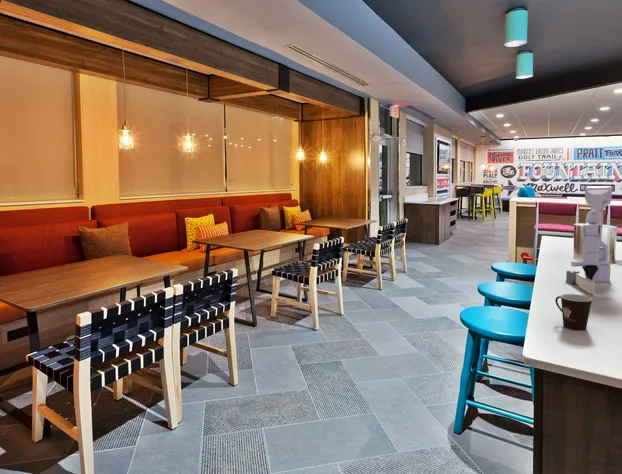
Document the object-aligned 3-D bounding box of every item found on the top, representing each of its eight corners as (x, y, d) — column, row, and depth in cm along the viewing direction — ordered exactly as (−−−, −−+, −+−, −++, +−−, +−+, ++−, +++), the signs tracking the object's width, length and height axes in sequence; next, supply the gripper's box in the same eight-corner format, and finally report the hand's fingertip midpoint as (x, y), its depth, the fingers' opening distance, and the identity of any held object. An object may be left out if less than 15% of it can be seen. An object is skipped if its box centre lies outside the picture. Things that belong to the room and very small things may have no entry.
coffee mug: (595, 332, 132) (597, 301, 130) (565, 331, 134) (566, 301, 132) (579, 320, 143) (581, 292, 142) (552, 319, 145) (553, 291, 143)
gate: (575, 284, 187) (575, 273, 186) (579, 284, 187) (579, 273, 186) (590, 293, 172) (591, 281, 171) (594, 293, 171) (595, 282, 171)
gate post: (564, 280, 196) (565, 268, 195) (570, 280, 196) (570, 268, 195) (574, 285, 188) (574, 272, 187) (579, 285, 187) (580, 272, 187)
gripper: (578, 253, 173) (576, 285, 175) (615, 252, 172) (613, 284, 174) (569, 250, 180) (567, 281, 182) (604, 249, 179) (602, 280, 181)
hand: (589, 282), depth 178 cm, fingers closed
